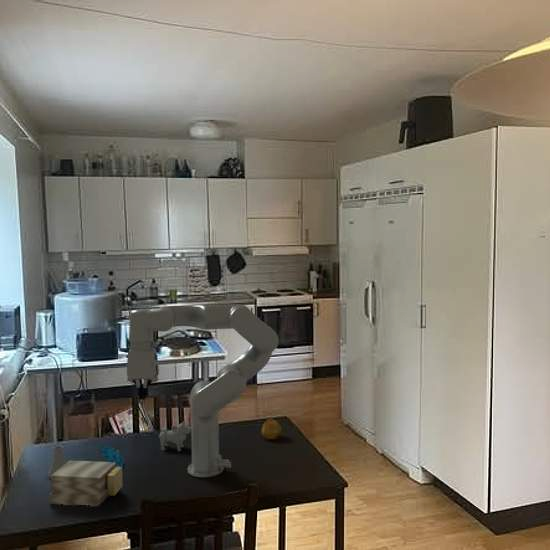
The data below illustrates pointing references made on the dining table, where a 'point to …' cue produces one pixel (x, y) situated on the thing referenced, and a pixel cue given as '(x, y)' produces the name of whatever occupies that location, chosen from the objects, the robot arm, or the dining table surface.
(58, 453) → the flask
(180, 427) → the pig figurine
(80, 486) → the block
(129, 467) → the dining table surface
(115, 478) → the shaft
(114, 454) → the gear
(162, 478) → the dining table surface
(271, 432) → the fruit
